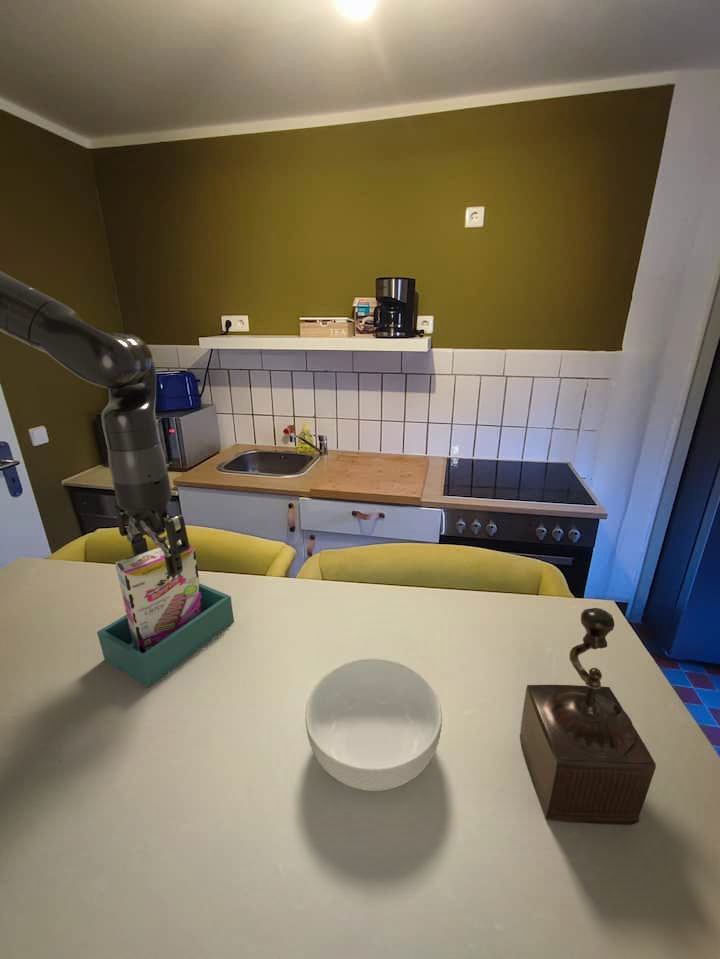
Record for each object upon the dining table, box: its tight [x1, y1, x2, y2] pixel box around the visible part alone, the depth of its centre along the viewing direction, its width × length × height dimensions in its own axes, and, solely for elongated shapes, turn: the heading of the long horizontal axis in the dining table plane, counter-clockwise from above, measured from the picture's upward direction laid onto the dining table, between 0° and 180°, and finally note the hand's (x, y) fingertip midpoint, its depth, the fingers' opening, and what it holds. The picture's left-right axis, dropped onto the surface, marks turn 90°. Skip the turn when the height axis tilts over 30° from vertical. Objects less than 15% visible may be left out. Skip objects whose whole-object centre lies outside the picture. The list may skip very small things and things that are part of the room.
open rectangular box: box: [96, 583, 235, 688], centre depth 74 cm, size 12×18×6 cm, turn 150°
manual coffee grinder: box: [519, 607, 657, 826], centre depth 51 cm, size 16×11×18 cm
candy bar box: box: [114, 540, 204, 653], centre depth 72 cm, size 11×5×16 cm, turn 135°
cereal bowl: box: [304, 657, 443, 792], centre depth 55 cm, size 17×17×7 cm
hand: (158, 567), depth 70 cm, fingers open, 8 cm apart
